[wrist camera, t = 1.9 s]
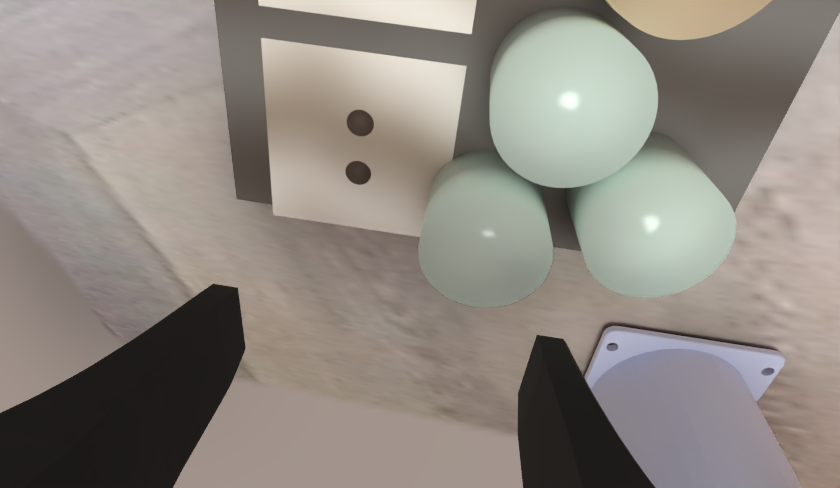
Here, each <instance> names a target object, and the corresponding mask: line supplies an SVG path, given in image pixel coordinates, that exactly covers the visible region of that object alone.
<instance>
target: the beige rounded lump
mask: <svg viewBox="0 0 840 488" xmlns="http://www.w3.org/2000/svg"><path fill="white" fill-rule="evenodd" d="M603 1H604V2H605V3H606V4H607V5H608V6H610V7H611V8H612V9H613V10H614V11H616V12H617V13H618V14H619V15H621V16H622V17H623V18H624V19H625V20H627V21H628V22H629V23H631V24H632V25H633V26H634V27H636V28H638V29H639V30H641V31H643V32H645V33H647V34H650V35H653V36H656V37H660V38H665V39H672V40H690V39H698V38H703V37H708V36H711V35H714V34H718V33H721V32H723V31H725V30H728V29H730V28H732V27H735V26H736V25H738V24H740V23H742V22H743V21H745V20H747V19H749V18H750V17H752V16H753V15H754V14H756V13H757V12H759V11H760V10H761V9H763V8H764V7H765V6H766V5H767V4H768V3H770V2H771V1H772V0H603Z"/></svg>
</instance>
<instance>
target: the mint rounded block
mask: <svg viewBox="0 0 840 488" xmlns="http://www.w3.org/2000/svg"><path fill="white" fill-rule="evenodd" d="M418 261H419V264H420V268H421V270H422V272H423V274H424V276H425V278H426V279H427V281H428V282H429V283H430V284H431V286H432V287H433V288H435V289H436V290H437V291H438V292H439V293H441V294H442V295H443V296H445V297H447V298H448V299H450V300H452V301H455V302H457V303H460V304H463V305H467V306H471V307H479V308H493V307H501V306H506V305H509V304H512V303H515V302H517V301H520V300H522V299H524V298H525V297H527V296H529V295H530V294H531V293H533V292H534V291H535V290H536V289H537V288H538V287H539V286H540V285H541V284H542V283H543V282H544V280H545V279H546V277H547V275H548V274H549V271H550V269H551V266H552V262H553V243H552V238H551V232H550V227H549V222H548V217H547V211H546V206H545V201H544V196H543V191H542V187H541V185H540V184H537V183H534V182H531V181H529V180H527V179H525V178H523V177H522V176H520V175H519V174H517V173H516V172H515V171H514V170H512V169H511V168H510V167H509V166H508V165H507V164H506V162H505V161H504V160H503V159H502V157H501V156H500V154H499V153H498V151H495V150H478V151H472V152H469V153H465V154H463V155H460V156H458V157H456V158H454V159H453V160H451V161H450V162H449V163H447V164H446V165H445V166H444V167H443V168H442V169H441V170H440V171H439V172H438V174H437V175H436V177H435V178H434V180H433V182H432V185H431V188H430V192H429V196H428V201H427V206H426V211H425V215H424V220H423V225H422V230H421V234H420V239H419V244H418Z"/></svg>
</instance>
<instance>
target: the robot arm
mask: <svg viewBox="0 0 840 488" xmlns="http://www.w3.org/2000/svg"><path fill="white" fill-rule="evenodd" d="M610 343H615V344H613V345H608V344H610ZM244 351H245V341H244V333H243V325H242V317H241V310H240V302H239V294H238V288H236V287H229V286H223V285H217V284H212V285H211V286H209V287H208V288H207V289H205V290H204V291H202V292H201V293H199V294H198V295H197V296H195V297H194V298H192V299H191V300H189V301H188V302H187V303H185V304H184V305H182V306H181V307H180V308H178V309H177V310H175V311H174V312H173V313H171V314H170V315H168V316H167V317H165V318H164V319H163V320H161V321H160V322H158V323H157V324H155V325H154V326H152V327H151V328H149V329H148V330H147V331H145V332H144V333H142V334H141V335H139V336H138V337H136V338H135V339H133V340H132V341H130V342H129V343H127V344H125V345H124V346H122V347H121V348H119V349H117V350H116V351H114V352H113V353H111V354H110V355H108V356H106V357H105V358H104V359H102V360H100V361H98V362H97V363H95V364H94V365H92V366H90V367H88V368H87V369H85V370H84V371H82V372H80V373H78V374H76V375H75V376H73V377H71V378H69V379H67V380H66V381H64V382H62V383H60V384H58V385H56V386H54V387H52V388H51V389H49V390H47V391H45V392H43V393H41V394H39V395H37V396H35V397H33V398H31V399H29V400H27V401H25V402H23V403H21V404H19V405H16V406H14V407H12V408H10V409H8V410H6V411H4V412H2V413H0V488H173V486H174V484H175V482H176V481H177V479H178V476H179V475H180V473H181V471H182V469H183V467H184V466H185V464H186V462H187V460H188V459H189V457H190V455H191V453H192V452H193V450H194V448H195V447H196V445H197V443H198V441H199V440H200V438H201V436H202V434H203V433H204V431H205V429H206V427H207V426H208V424H209V422H210V421H211V419H212V417H213V415H214V414H215V412H216V410H217V408H218V406H219V405H220V403H221V401H222V399H223V397H224V396H225V394H226V392H227V390H228V389H229V387H230V385H231V382H232V380H233V378H234V375H235V373H236V371H237V368H238V366H239V363H240V361H241V358H242V356H243V353H244ZM784 364H785V358H784V357H783V355H782V354H781V353H780V352H779V351H775V350H769V349H763V348H756V347H750V346H744V345H737V344H731V343H724V342H718V341H712V340H705V339H699V338H692V337H686V336H679V335H673V334H667V333H660V332H654V331H647V330H641V329H635V328H628V327H622V326H611V327H608V328H607V329H605V331H604V332H603V334H602V336H601V339H600V341H599V344H598V346H597V348H596V351H595V353H594V355H593V358H592V360H591V362H590V365H589V367H588V370H587V372H586V374H585V377H584V376H583V375H582V373H581V371H580V369H579V367H578V365H577V363H576V361H575V360H574V358H573V356H572V354H571V352H570V350H569V348H568V346H567V344H566V342H565V341H564V340H563V339H559V338H553V337H547V336H540V335H537V337H536V340H535V343H534V346H533V349H532V352H531V355H530V358H529V361H528V364H527V368H526V371H525V374H524V377H523V380H522V383H521V386H520V389H519V392H518V441H519V451H520V460H521V470H522V479H523V488H802V486H801V484H800V482H799V480H798V479H797V477H796V475H795V473H794V471H793V469H792V467H791V466H790V464H789V462H788V460H787V458H786V456H785V455H784V453H783V451H782V449H781V447H780V445H779V443H778V442H777V440H776V438H775V436H774V434H773V432H772V430H771V429H770V427H769V425H768V423H767V421H766V419H765V417H764V416H763V414H762V412H761V410H760V408H759V406H758V404H757V401H758V400H759V398H760V397H761V396H762V394H763V393H764V392H765V390H766V389H767V388H768V386H769V385H770V384H771V382H772V381H773V379H774V378H775V377H776V375H777V374H778V373H779V371H780V370H781V369H782V367H783V366H784ZM765 368H766V369H765Z"/></svg>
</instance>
